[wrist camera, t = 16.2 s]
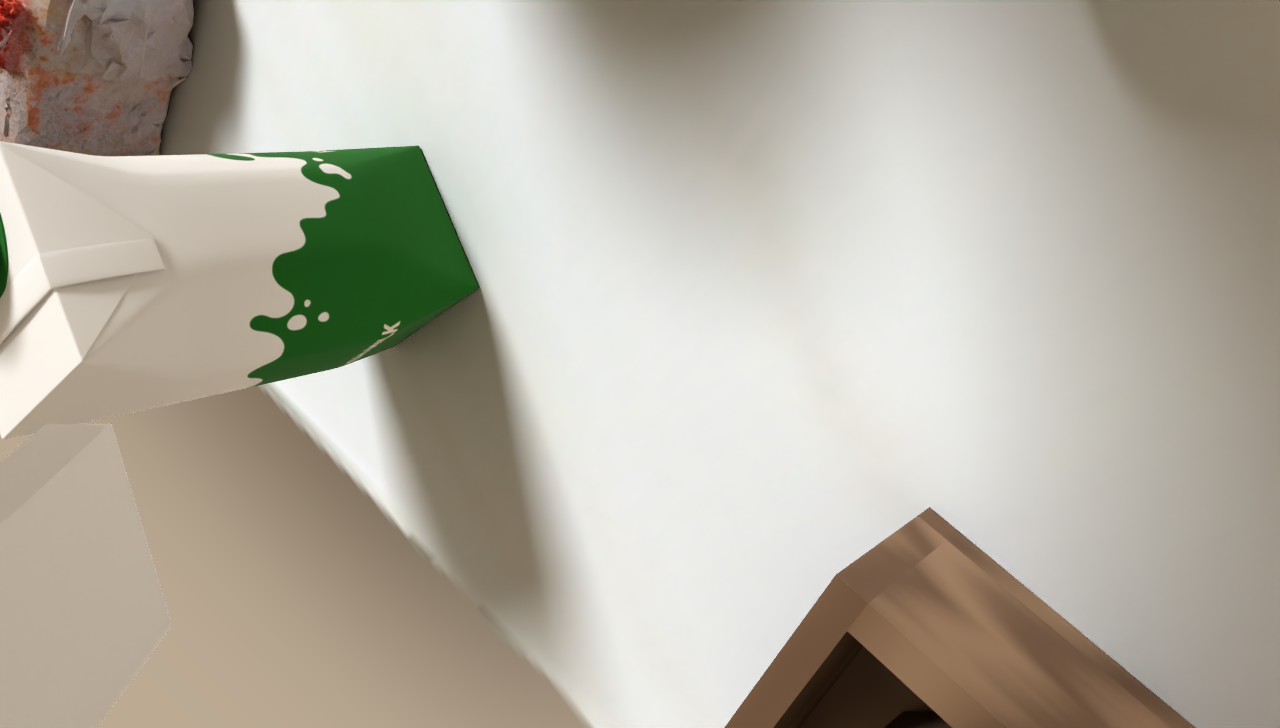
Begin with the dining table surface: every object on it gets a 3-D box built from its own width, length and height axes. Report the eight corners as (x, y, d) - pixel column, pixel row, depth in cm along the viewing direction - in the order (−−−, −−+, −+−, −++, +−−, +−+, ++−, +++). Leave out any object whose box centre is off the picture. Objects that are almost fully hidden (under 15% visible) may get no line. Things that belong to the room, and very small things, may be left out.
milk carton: (423, 116, 48) (-78, 114, 33) (502, 301, 47) (25, 389, 32) (322, 207, 54) (-150, 243, 38) (390, 374, 53) (-64, 481, 37)
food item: (151, -121, 57) (-53, -159, 50) (232, -52, 54) (28, -81, 47) (107, 106, 64) (-79, 104, 56) (177, 180, 61) (-10, 188, 53)
